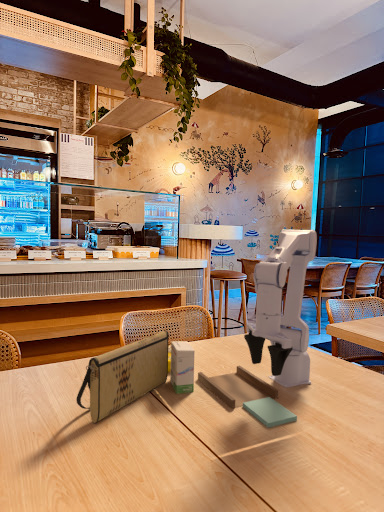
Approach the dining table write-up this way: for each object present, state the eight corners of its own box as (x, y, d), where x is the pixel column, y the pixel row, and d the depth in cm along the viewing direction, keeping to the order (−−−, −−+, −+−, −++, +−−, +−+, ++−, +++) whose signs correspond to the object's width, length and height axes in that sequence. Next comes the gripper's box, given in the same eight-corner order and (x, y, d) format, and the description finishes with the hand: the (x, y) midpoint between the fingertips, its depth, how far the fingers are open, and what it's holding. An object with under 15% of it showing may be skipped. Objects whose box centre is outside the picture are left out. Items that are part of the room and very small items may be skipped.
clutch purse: (151, 376, 104) (152, 325, 103) (171, 382, 101) (172, 330, 99) (68, 420, 79) (68, 354, 78) (90, 431, 75) (90, 361, 74)
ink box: (194, 393, 94) (195, 349, 93) (175, 395, 92) (176, 351, 91) (186, 380, 102) (187, 340, 101) (169, 381, 101) (170, 340, 100)
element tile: (141, 355, 122) (142, 341, 122) (185, 358, 120) (185, 344, 120) (128, 372, 108) (128, 356, 107) (177, 376, 106) (177, 360, 105)
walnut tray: (239, 373, 108) (239, 365, 107) (278, 399, 91) (278, 390, 91) (197, 381, 101) (198, 372, 101) (231, 410, 85) (231, 400, 85)
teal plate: (269, 404, 90) (269, 396, 90) (296, 424, 81) (297, 415, 81) (242, 410, 86) (242, 402, 86) (268, 432, 77) (268, 423, 77)
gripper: (237, 307, 89) (235, 360, 90) (274, 321, 76) (272, 383, 77) (260, 305, 92) (258, 356, 93) (300, 318, 79) (297, 378, 80)
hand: (266, 368), depth 85 cm, fingers open, 7 cm apart
